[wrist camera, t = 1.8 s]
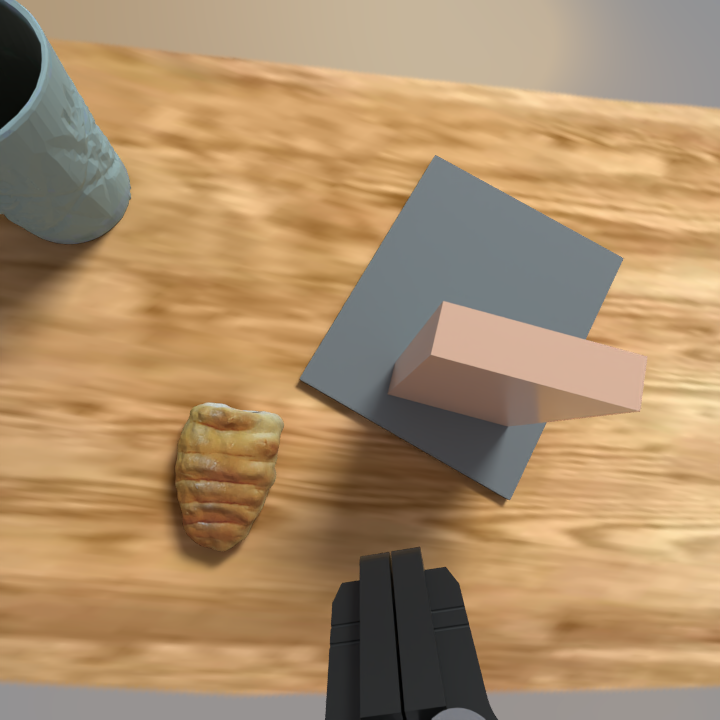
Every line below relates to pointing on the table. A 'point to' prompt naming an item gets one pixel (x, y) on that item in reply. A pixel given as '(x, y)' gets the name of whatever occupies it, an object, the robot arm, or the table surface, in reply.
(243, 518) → the pastry
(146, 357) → the table surface
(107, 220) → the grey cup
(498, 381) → the tile
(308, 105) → the table surface
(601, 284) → the mat
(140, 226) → the table surface
